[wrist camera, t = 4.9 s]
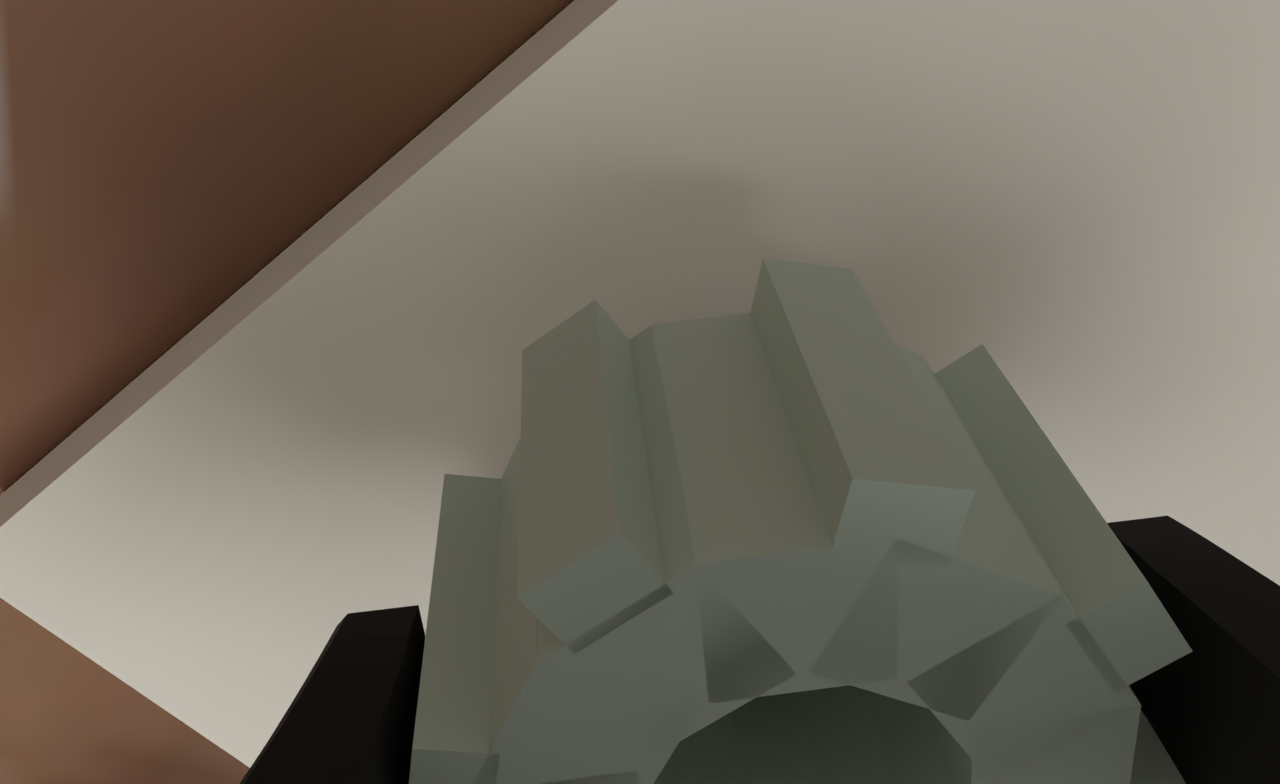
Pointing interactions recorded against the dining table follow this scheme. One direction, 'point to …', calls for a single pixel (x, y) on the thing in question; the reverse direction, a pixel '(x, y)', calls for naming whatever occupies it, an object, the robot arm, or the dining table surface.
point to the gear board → (690, 299)
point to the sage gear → (781, 570)
